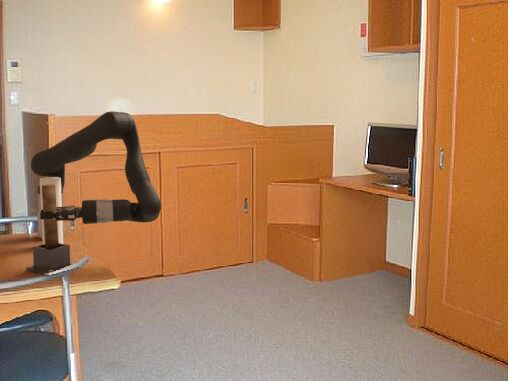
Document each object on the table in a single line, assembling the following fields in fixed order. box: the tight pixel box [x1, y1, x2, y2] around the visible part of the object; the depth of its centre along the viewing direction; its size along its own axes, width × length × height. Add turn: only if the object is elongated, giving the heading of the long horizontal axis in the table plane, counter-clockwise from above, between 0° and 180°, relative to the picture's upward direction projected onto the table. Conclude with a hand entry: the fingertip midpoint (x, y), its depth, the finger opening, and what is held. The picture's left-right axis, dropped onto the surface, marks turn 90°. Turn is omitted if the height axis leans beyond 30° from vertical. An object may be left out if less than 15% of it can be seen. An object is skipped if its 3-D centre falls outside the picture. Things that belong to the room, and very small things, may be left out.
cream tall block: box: [39, 176, 64, 244], centre depth 219 cm, size 7×7×25 cm
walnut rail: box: [42, 184, 59, 249], centre depth 190 cm, size 4×4×20 cm
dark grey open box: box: [25, 243, 73, 275], centre depth 192 cm, size 11×11×8 cm
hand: (40, 214), depth 189 cm, fingers closed on walnut rail, 4 cm apart
